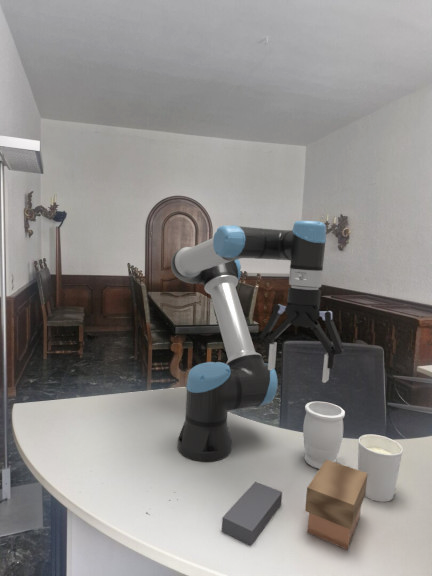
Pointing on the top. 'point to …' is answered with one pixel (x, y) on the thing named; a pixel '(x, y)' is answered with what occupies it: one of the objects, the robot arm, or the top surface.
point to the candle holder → (379, 465)
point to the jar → (322, 432)
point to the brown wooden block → (336, 493)
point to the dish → (331, 530)
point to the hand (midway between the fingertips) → (297, 374)
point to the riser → (251, 513)
